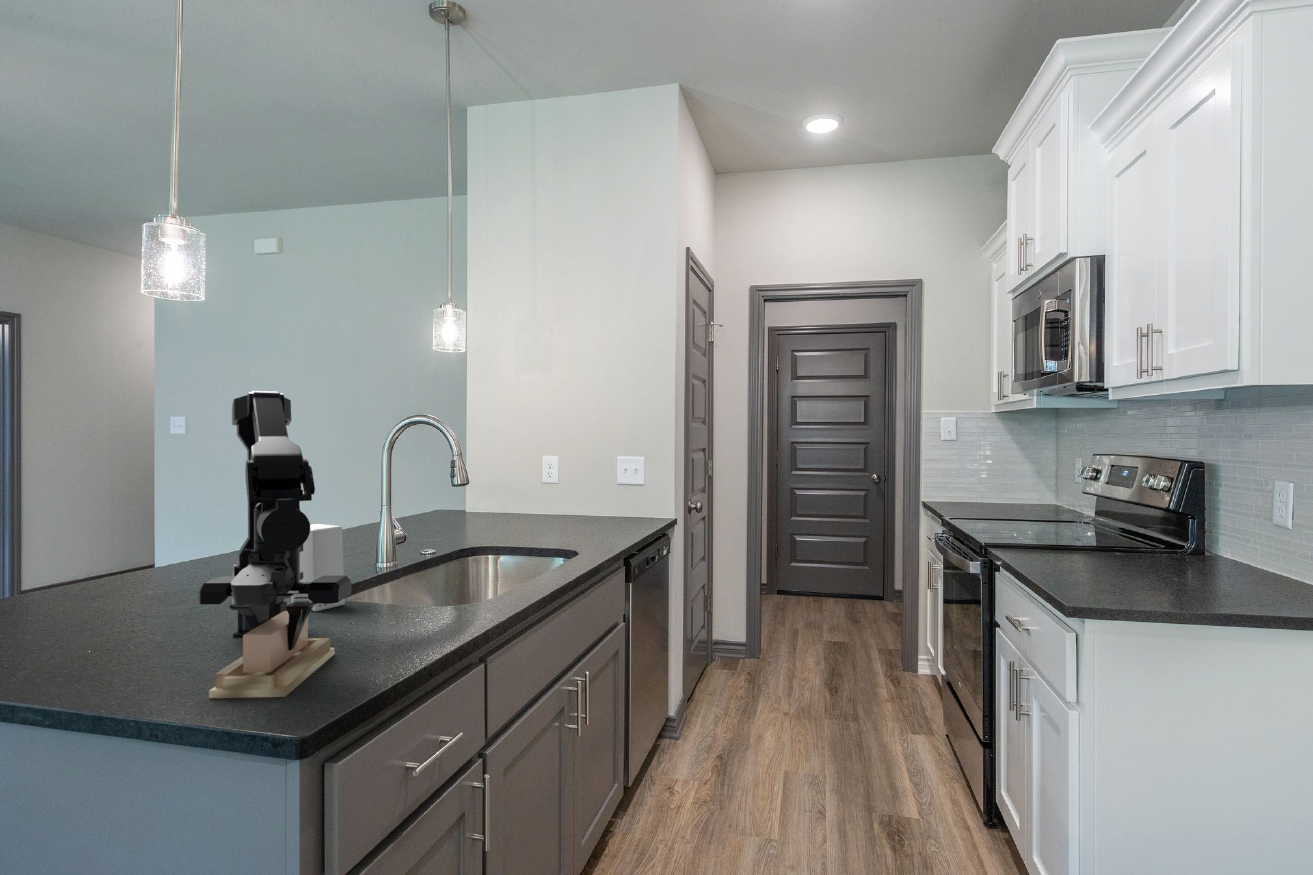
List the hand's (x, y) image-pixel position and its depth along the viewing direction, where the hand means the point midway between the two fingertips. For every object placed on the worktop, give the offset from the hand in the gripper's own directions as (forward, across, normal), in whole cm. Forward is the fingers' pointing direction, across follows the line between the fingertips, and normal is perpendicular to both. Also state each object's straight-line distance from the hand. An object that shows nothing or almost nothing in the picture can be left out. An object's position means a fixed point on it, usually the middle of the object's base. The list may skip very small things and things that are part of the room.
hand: (277, 649), depth 100 cm
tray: (+4, 0, 0) cm, 4 cm away
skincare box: (+4, -9, +38) cm, 39 cm away
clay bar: (+1, 0, 0) cm, 1 cm away
